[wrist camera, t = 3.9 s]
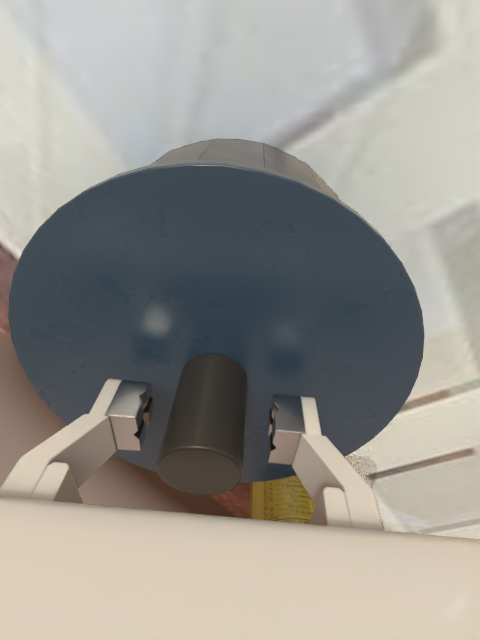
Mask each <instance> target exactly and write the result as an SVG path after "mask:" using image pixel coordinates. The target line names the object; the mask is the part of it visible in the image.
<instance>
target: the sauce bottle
mask: <svg viewBox="0 0 480 640" xmlns="http://www.w3.org/2000/svg"><path fill="white" fill-rule="evenodd" d="M315 508H316V505H315V503H314V502H313V500H312V499H311V497H310V495H309V494H308V492H307V490H306V489H305V487H304V486H303V484H302V482H301V481H300V479H299V477H298V476H297V475H295V476H291V477H287V478H282V479H276V480H270V481H261V482H250V519H259V520H270V521H281V522H292V523H303V524H309V522H310V519H311V517H312V515H313V512H314V510H315Z"/></svg>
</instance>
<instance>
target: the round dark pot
mask: <svg viewBox="0 0 480 640" xmlns="http://www.w3.org/2000/svg"><path fill="white" fill-rule="evenodd" d="M184 160H217V161H231V162H237V163H243V164H249V165H255V166H261V167H265V168H268V169H271V170H274V171H277V172H281V173H284V174H287V175H290V176H293V177H296V178H299V179H301V180H303V181H305V182H307V183H309V184H311V185H313V186H315V187H317V188H319V189H321V190H324V191H326V192H328V193H330V194H331V195H333V196H334V197H335V198H337V199H338V200H340V199H339V198H338V196H337V195H336V194H335V193H334V192H333V191H332V189H331V188H330V187H329V186H328V185H327V184H326V183H325V182H324V181H323V180H322V179H321V178H320V177H319V176H318V175H317V174H316V173H315V172H314V171H313V170H312V169H311V168H310V167H309V166H308V165H307V164H306V163H304V162H302V161H300V160H298V159H297V158H295V157H293V156H291V155H289V154H287V153H285V152H283V151H281V150H279V149H277V148H274V147H271V146H269V145H267V144H265V143H264V144H263V143H259V142H253V141H247V140H241V139H211V140H208V141H201V142H197V143H194V144H190V145H187V146H183V147H181V148H178V149H174V150H171V151H169V152H167V153H166V154H165V155H163V156H162V157H161V158H159V159H158V160H156V161H155V162H154V163H152V164H159V163H167V162H176V161H184ZM152 164H151V165H152ZM340 201H341V200H340Z"/></svg>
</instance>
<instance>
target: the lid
mask: <svg viewBox="0 0 480 640" xmlns="http://www.w3.org/2000/svg"><path fill="white" fill-rule="evenodd" d="M8 320H9V326H10V333H11V339H12V342H13V345H14V349H15V351H16V355H17V358H18V360H19V362H20V364H21V366H22V368H23V370H24V372H25V375H26V376H27V378H28V380H29V381H30V383H31V384H32V386H33V387H34V389H35V390H36V392H37V393H38V395H39V396H40V397H41V398H42V399H43V401H44V402H45V403H46V404H47V405H48V407H49V408H50V409H51V410H52V411H53V412H54V413H55V414H56V415H57V416H58V417H59V418H60V419H61V420H63V421H64V422H65V423H66V424H67V425H69V424H71V423H72V422H73V421H75V420H76V419H78V418H79V417H81V416H82V415H84V414H89V413H90V411H91V409H92V407H93V405H94V403H95V401H96V399H97V398H98V396H99V394H100V392H101V390H102V388H103V386H104V384H105V382H106V381H107V380H108V379H109V378H110V379H118V380H129V381H137V382H146V383H151V386H152V392H151V395H150V396H151V397H152V398H153V413H152V418H151V421H150V424H149V425H148V426H147V427H145V429H146V437H145V440H144V443H143V446H142V449H141V451H135V450H120V449H117V451H116V452H115V453H114V454H113V455H114V456H116V457H119V458H121V459H123V460H125V461H128V462H130V463H132V464H135V465H138V466H141V467H143V468H146V469H149V470H152V471H155V472H158V474H159V476H160V477H161V479H162V480H163V481H164V482H166V483H167V484H168V485H170V486H172V487H173V488H175V489H178V490H180V491H183V492H187V493H192V494H198V495H214V494H220V493H224V492H227V491H229V490H231V489H233V488H234V487H236V486H237V485H238V484H239V483H250V482H261V481H270V480H276V479H282V478H287V477H291V476H295V475H297V474H296V473H295V471H294V469H293V468H292V465H285V464H277V463H268V443H269V438H270V437H269V436H268V415H269V409H270V408H271V399H272V395H273V394H279V395H292V396H302V397H314V399H315V400H316V406H317V412H318V417H319V423H320V428H321V434H322V436H326V437H327V438H328V439H329V440H330V441H331V442H332V444H333V445H334V446H335V447H336V448H337V449H338V450H339V452H340V453H341V454H342V455H343V456H344V457H345V456H347V455H349V454H350V453H352V452H354V451H356V450H357V449H359V448H360V447H361V446H363V445H364V444H366V443H367V442H369V441H370V440H371V439H373V438H374V437H375V436H376V435H377V434H378V433H379V432H380V431H382V430H383V429H384V428H385V427H386V426H387V425H388V424H389V422H390V421H391V420H392V419H393V418H394V417H395V416H396V414H397V413H398V412H399V411H400V409H401V407H402V406H403V404H404V403H405V401H406V400H407V398H408V397H409V395H410V393H411V391H412V388H413V386H414V384H415V382H416V379H417V377H418V373H419V369H420V365H421V362H422V358H423V346H424V326H423V317H422V310H421V307H420V303H419V300H418V297H417V293H416V290H415V287H414V285H413V283H412V281H411V279H410V277H409V275H408V273H407V271H406V270H405V268H404V266H403V264H402V262H401V261H400V260H399V258H398V257H397V256H396V254H395V253H394V252H393V250H392V249H391V248H390V246H389V245H388V244H387V242H386V241H385V240H384V239H383V237H382V236H381V235H380V234H379V233H378V232H377V231H376V230H375V229H374V228H373V227H372V226H371V225H370V224H369V223H368V222H367V221H366V220H365V219H364V218H363V217H361V216H360V215H359V214H358V213H357V212H356V211H354V210H353V209H351V208H350V207H349V206H347V205H346V204H344V203H343V202H341V201H340V200H338V199H337V198H335V197H334V196H333V195H331V194H330V193H328V192H326V191H324V190H321V189H319V188H317V187H315V186H313V185H311V184H309V183H307V182H305V181H303V180H301V179H299V178H296V177H293V176H290V175H287V174H284V173H281V172H277V171H274V170H271V169H268V168H265V167H261V166H255V165H249V164H243V163H237V162H231V161H217V160H184V161H176V162H167V163H159V164H152V165H149V166H145V167H142V168H138V169H134V170H131V171H127V172H124V173H120V174H118V175H116V176H114V177H111V178H109V179H107V180H105V181H103V182H101V183H98V184H96V185H94V186H92V187H90V188H88V189H87V190H85V191H84V192H82V193H81V194H79V195H78V196H76V197H75V198H73V199H72V200H70V201H69V202H67V203H66V204H65V205H63V206H62V207H60V208H59V209H58V210H57V211H56V212H55V213H54V214H53V215H52V216H51V217H50V218H49V219H48V220H47V221H46V222H45V223H44V224H43V225H41V226H40V227H39V228H38V230H37V231H36V233H35V234H34V236H33V237H32V239H31V240H30V242H29V243H28V244H27V246H26V247H25V249H24V250H23V253H22V255H21V257H20V260H19V262H18V264H17V267H16V269H15V271H14V274H13V279H12V283H11V288H10V293H9V308H8Z"/></svg>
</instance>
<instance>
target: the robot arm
mask: <svg viewBox="0 0 480 640" xmlns="http://www.w3.org/2000/svg"><path fill="white" fill-rule="evenodd" d="M151 392H152V386H151V383H146V382H137V381H129V380H118V379H110V378H109V379H108V380H107V381H106V382H105V384H104V386H103V388H102V390H101V392H100V394H99V396H98V398H97V399H96V401H95V403H94V405H93V407H92V409H91V411H90V413H89V414H84V415H82V416H81V417H79V418H78V419H76V420H75V421H73V422H72V423H71V424H69V425H68V426H66V427H65V428H63V429H62V430H60V431H59V432H57V433H56V434H54V435H53V436H51V437H50V438H48V439H47V440H46V441H44V442H43V443H41V444H40V445H38V446H37V447H35V448H34V449H32V450H31V451H29V452H28V453H26V454H25V455H23V456H22V457H21V458H20V459H19V461H18V462H17V464H16V465H15V467H14V468H13V470H12V471H11V473H10V474H9V476H8V477H7V479H6V481H5V482H4V484H3V485H2V487H1V489H0V640H480V539H469V538H458V537H447V536H436V535H425V534H414V533H403V532H392V531H384V527H383V523H382V520H381V516H380V513H379V509H378V505H377V502H376V498H375V495H374V491H373V489H372V488H371V487H370V486H369V485H368V484H367V482H366V481H365V480H364V479H363V478H362V477H361V476H360V474H359V473H358V472H357V471H356V470H355V469H354V468H353V466H352V465H351V464H350V463H349V462H348V461H347V460H346V458H345V457H344V456H343V455H342V454H341V453H340V452H339V450H338V449H337V448H336V447H335V446H334V445H333V444H332V442H331V441H330V440H329V439H328V438H327V437H326V436H322V434H321V428H320V423H319V417H318V412H317V406H316V400H315V399H314V397H302V396H292V395H279V394H273V395H272V399H271V408H270V409H269V415H268V436H269V437H270V438H269V443H268V463H277V464H285V465H292V468H293V469H294V471H295V473H296V474H297V476H298V477H299V479H300V481H301V482H302V484H303V486H304V487H305V489H306V490H307V492H308V494H309V495H310V497H311V499H312V500H313V502H314V503H315V505H316V508H315V510H314V512H313V515H312V517H311V519H310V522H309V524H303V523H292V522H281V521H270V520H259V519H248V518H237V517H225V516H215V515H204V514H193V513H181V512H170V511H159V510H148V509H137V508H126V507H114V506H103V505H93V504H83V502H82V499H81V497H80V494H79V491H78V488H79V487H80V486H81V485H82V484H83V483H84V482H85V481H86V480H87V479H88V478H89V477H90V476H91V475H92V474H93V473H94V472H95V471H96V470H98V469H99V467H101V466H102V465H103V464H104V463H105V462H106V460H108V459H109V458H110V457H111V456H112V455H113V454H114V453H115V452H116V451H117V449H120V450H135V451H141V449H142V446H143V443H144V440H145V437H146V429H145V427H147V426H148V425H149V424H150V421H151V418H152V413H153V398H152V397H151V396H150V395H151Z"/></svg>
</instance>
